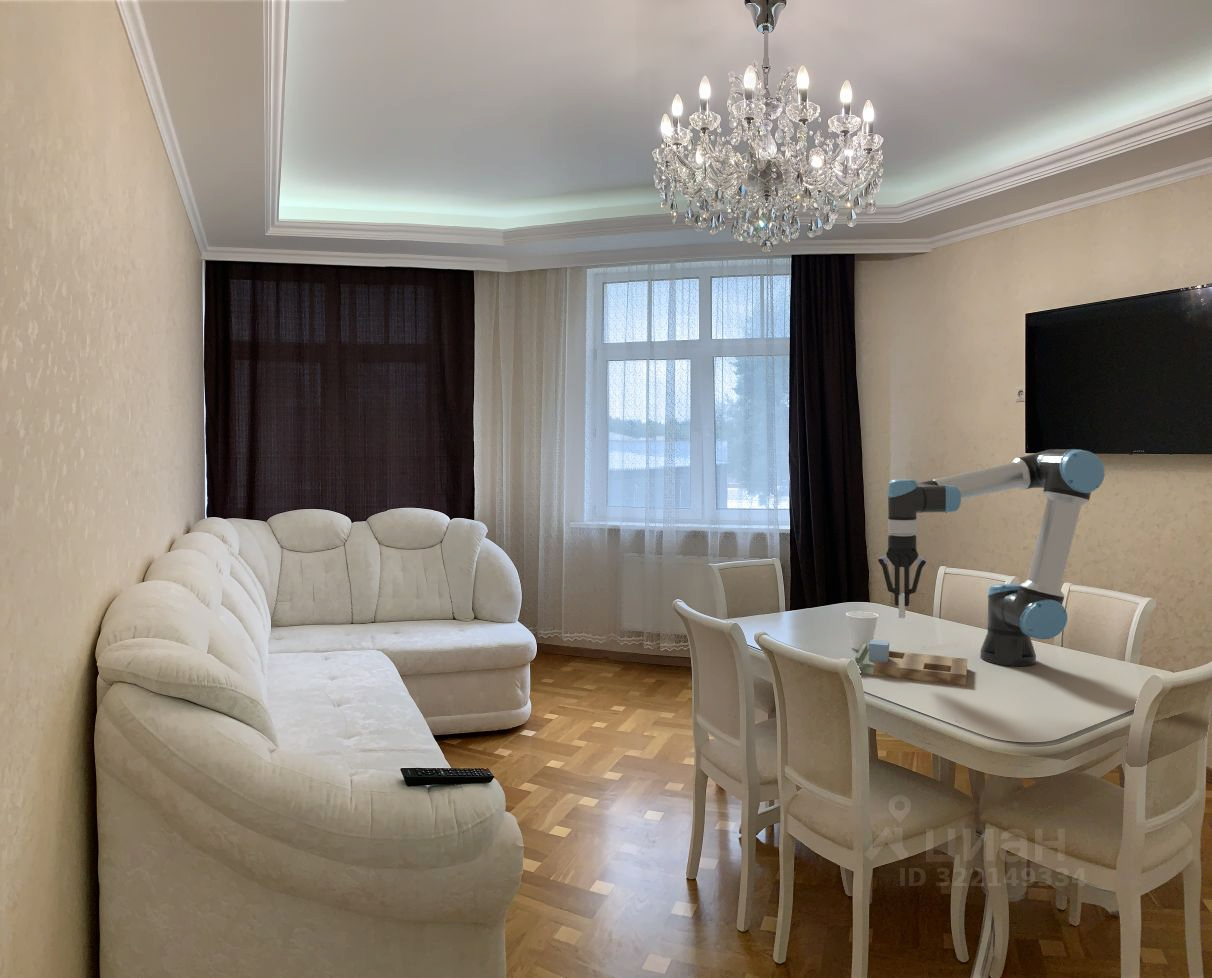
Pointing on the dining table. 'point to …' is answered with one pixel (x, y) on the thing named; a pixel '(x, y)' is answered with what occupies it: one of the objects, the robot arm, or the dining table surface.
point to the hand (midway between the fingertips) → (902, 617)
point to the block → (879, 651)
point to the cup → (861, 628)
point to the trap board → (915, 667)
